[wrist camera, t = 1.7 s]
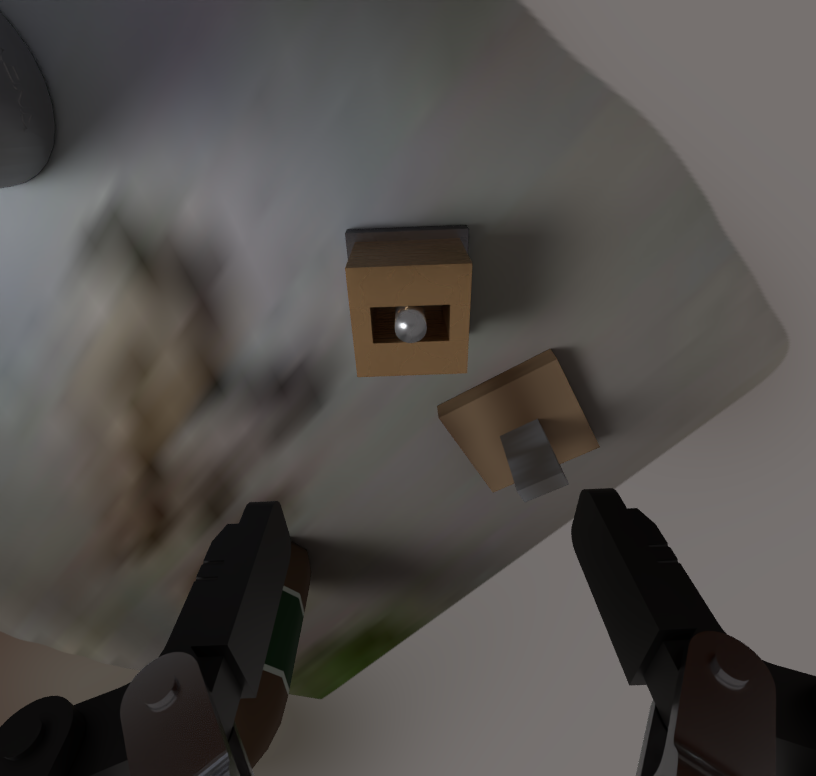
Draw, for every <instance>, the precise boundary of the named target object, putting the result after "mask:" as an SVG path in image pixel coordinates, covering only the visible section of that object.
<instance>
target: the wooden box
mask: <svg viewBox="0 0 816 776" xmlns="http://www.w3.org/2000/svg"><path fill="white" fill-rule="evenodd" d="M437 408H438V416H439V419H440V420H441V422H442V423H443V424H444V426H445V427H446V429H447V430H448V431H449V433H450V434H451V435H452V437H453V438H454V440H455V441H456V442H457V444H458V445H459V446H460V448H461V449H462V451H463V452H464V453H465V455H466V456H467V457H468V459H469V460H470V462H471V463H472V464H473V466H474V467H475V468H476V470H477V471H478V473H479V474H480V475H481V477H482V478H483V479H484V481H485V482H486V484H487V485H488V486H489V488H490V489H491V490H492V492H495V491H498V490H500V489H502V488H505V487H507V486H509V485H512V484H514V483H515V486H516V489H517V492H518V493H519V495H520V496H521V498H522V499H523V501H524V502H527V501H529V500H532V499H534V498H537V497H539V496H541V495H544V494H546V493H549V492H551V491H554V490H556V489H559V488H561V487H564V486H566V485H568V484H569V483H568V481H567V479H566V477H565V475H564V473H563V470H562V468H561V466H560V464H561V463H564V462H566V461H568V460H571V459H573V458H575V457H578V456H580V455H583V454H585V453H587V452H590V451H592V450H594V449H597V448H599V447H600V446H599V444H598V442H597V440H596V438H595V436H594V434H593V432H592V430H591V428H590V426H589V424H588V422H587V420H586V417H585V415H584V413H583V411H582V409H581V407H580V405H579V403H578V401H577V399H576V397H575V395H574V393H573V391H572V389H571V387H570V385H569V383H568V381H567V379H566V376H565V374H564V372H563V370H562V368H561V366H560V364H559V362H558V360H557V358H556V357H555V355H554V354H553V352H552V351H551V349H549V350H547V351H545V352H543V353H541V354H539V355H537V356H535V357H533V358H531V359H529V360H527V361H525V362H523V363H521V364H519V365H517V366H515V367H513V368H511V369H509V370H507V371H505V372H503V373H501V374H499V375H497V376H495V377H494V378H492V379H490V380H488V381H486V382H484V383H482V384H480V385H478V386H476V387H474V388H472V389H470V390H468V391H466V392H464V393H462V394H460V395H458V396H456V397H454V398H452V399H450V400H448V401H446V402H444V403H442V404H440V405H438V406H437Z"/></svg>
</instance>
